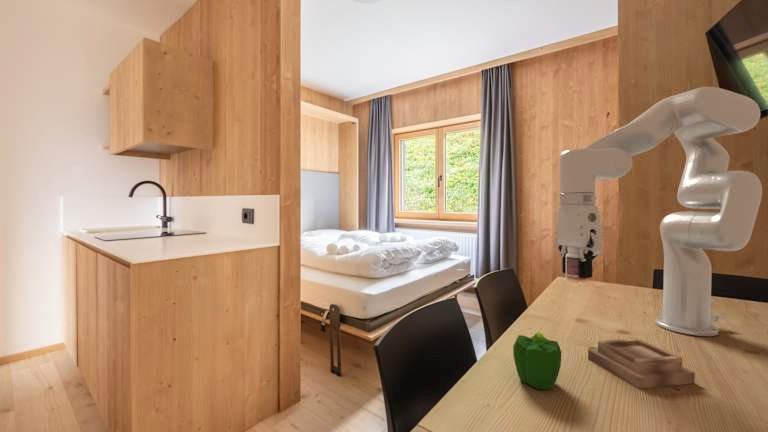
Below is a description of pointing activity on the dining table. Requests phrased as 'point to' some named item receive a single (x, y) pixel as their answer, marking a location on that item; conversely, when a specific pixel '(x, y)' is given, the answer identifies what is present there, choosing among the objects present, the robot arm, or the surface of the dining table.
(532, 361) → the bell pepper
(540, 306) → the dining table surface
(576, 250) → the pill bottle
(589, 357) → the plinth
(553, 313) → the dining table surface
